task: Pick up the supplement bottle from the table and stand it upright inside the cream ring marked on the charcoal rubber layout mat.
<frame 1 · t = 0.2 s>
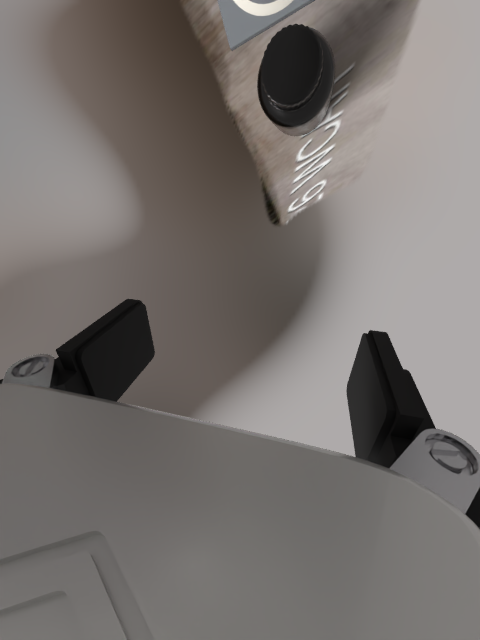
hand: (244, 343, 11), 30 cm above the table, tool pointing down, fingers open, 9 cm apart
supplement bottle: (299, 100, 30), on the table
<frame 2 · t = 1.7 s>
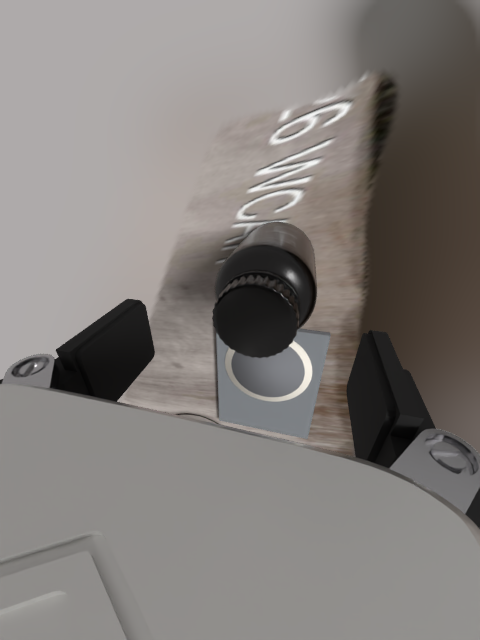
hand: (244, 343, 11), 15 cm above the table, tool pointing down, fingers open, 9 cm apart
supplement bottle: (277, 259, 24), on the table
layout mat: (266, 381, 32), on the table
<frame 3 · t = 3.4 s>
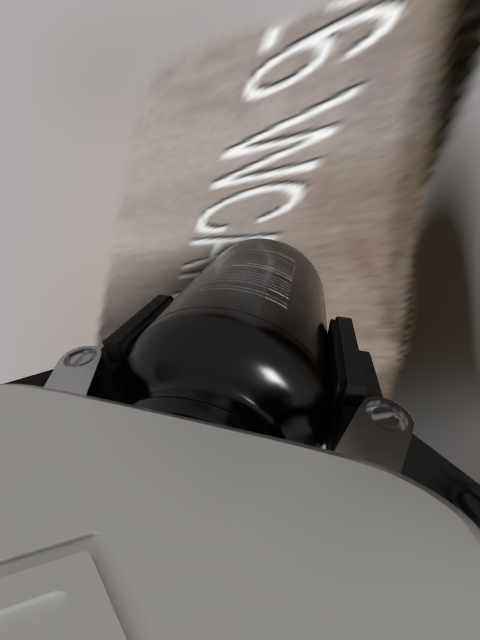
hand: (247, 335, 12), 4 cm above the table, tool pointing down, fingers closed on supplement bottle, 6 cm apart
supplement bottle: (263, 294, 15), on the table, touching gripper
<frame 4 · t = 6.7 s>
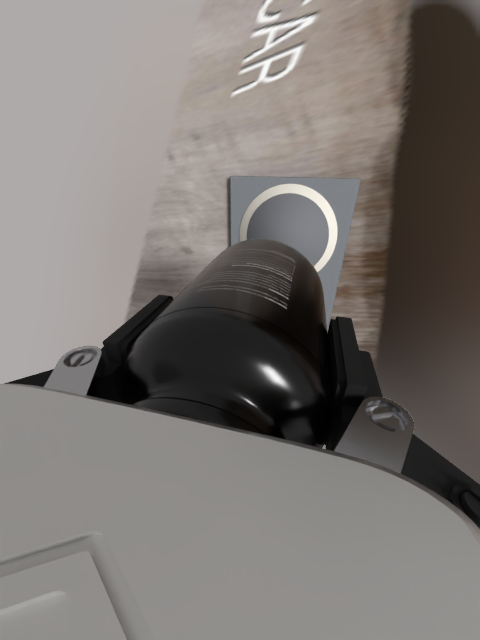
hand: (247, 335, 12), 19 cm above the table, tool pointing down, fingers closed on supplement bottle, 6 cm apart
supplement bottle: (263, 294, 15), point 15 cm above the table, touching gripper
layout mat: (284, 259, 29), on the table
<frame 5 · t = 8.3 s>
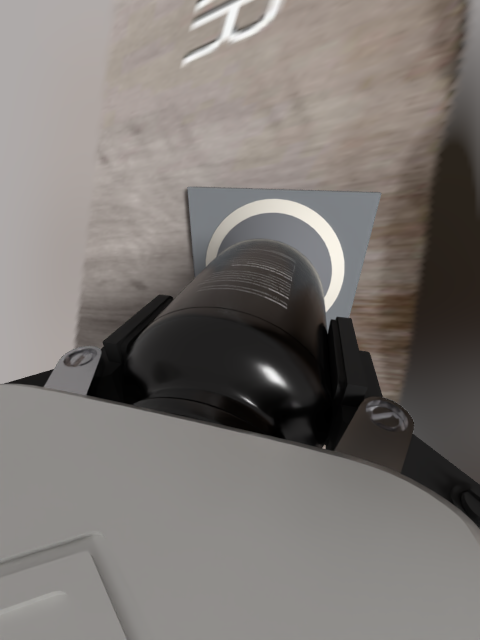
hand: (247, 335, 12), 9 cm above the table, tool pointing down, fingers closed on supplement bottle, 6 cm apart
supplement bottle: (263, 294, 15), point 5 cm above the table, touching gripper
layout mat: (269, 301, 21), on the table
when the fingers open (6 cm above the table, at t = 9.8 s): supplement bottle drops 1 cm, resting on layout mat.
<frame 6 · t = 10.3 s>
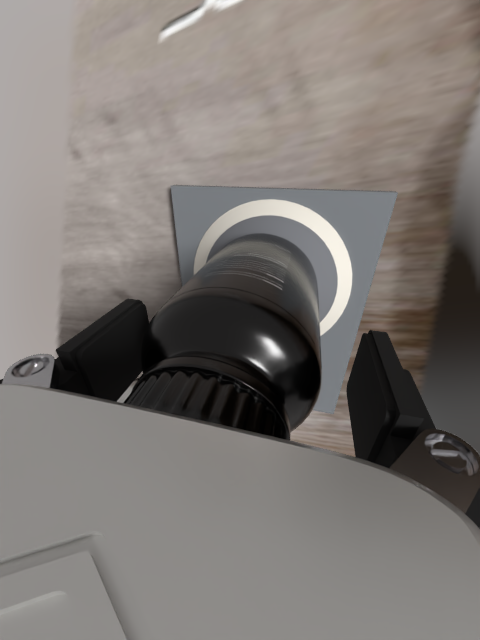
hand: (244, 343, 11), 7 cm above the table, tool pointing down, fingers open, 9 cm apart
supplement bottle: (262, 285, 17), point 1 cm above the table, touching layout mat
layout mat: (266, 314, 18), on the table
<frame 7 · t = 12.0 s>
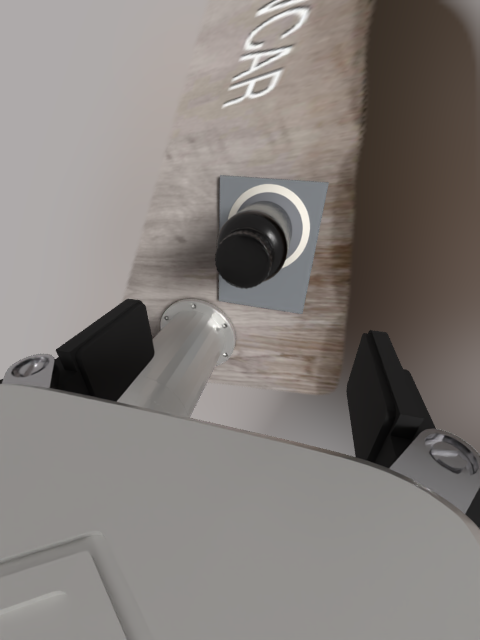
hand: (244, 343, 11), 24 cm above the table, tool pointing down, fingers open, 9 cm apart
supplement bottle: (264, 230, 31), point 1 cm above the table, touching layout mat
layout mat: (265, 249, 33), on the table
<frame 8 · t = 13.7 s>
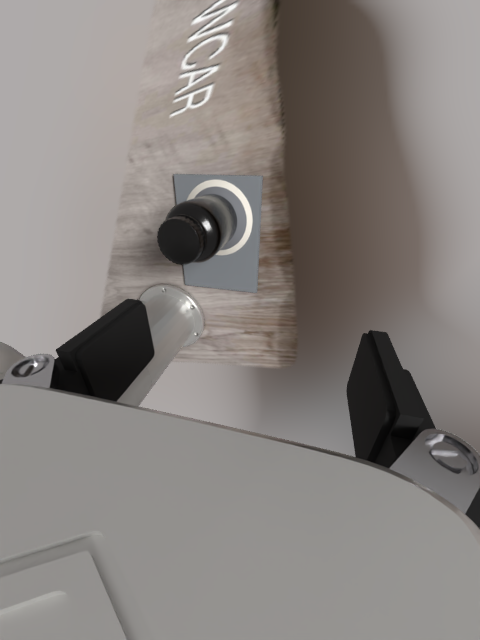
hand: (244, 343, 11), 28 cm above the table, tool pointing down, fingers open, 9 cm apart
supplement bottle: (215, 220, 36), point 1 cm above the table, touching layout mat
layout mat: (219, 237, 38), on the table
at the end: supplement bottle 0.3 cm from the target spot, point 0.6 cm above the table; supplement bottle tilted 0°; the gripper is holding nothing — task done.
